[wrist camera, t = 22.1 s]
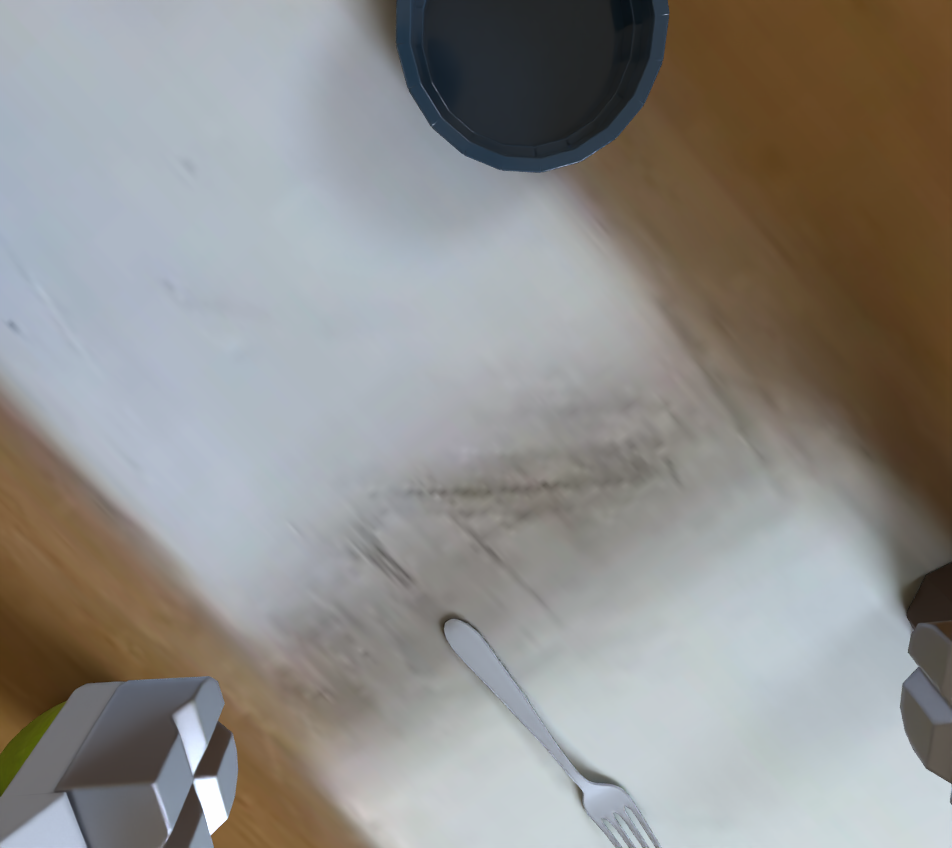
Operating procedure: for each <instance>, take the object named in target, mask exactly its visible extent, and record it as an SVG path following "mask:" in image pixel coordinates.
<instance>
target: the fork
mask: <svg viewBox="0 0 952 848" xmlns="http://www.w3.org/2000/svg"><path fill="white" fill-rule="evenodd" d="M444 632H445V635H446V639H447V640H448V642H449V644H450V645H451V647H452V649H453V650H454V651H455V652H456V653H457V655H458V656H459V657H460V658H461V659H462V660H463V661H464V662H465V663H466V664H467V665H468V666H469V668H470V669H471V670H472V671H473V672H474V673H475V674H476V675H477V676H478V677H479V678H480V679H481V680H482V681H483V682H484V683H485V684H486V685H487V686H488V687H489V688H490V689H491V690H492V691H493V693H494V694H495V695H496V696H497V697H498V698H499V699H500V700H501V701H502V702H503V703H504V704H505V705H506V706H507V708H508V709H509V710H510V711H511V712H512V713H513V714H514V715H515V716H516V717H517V718H518V719H519V720H520V721H521V722H522V723H523V724H524V725H525V726H526V727H527V728H528V729H529V731H530V732H531V733H532V734H533V735H534V736H535V737H536V738H537V739H538V740H539V741H540V743H541V744H542V745H543V746H544V747H545V748H546V749H547V750H548V751H549V753H550V754H551V755H552V756H553V757H554V759H555V760H556V761H557V762H558V763H559V765H560V766H561V767H562V768H563V769H564V770H565V772H566V773H567V774H568V775H569V776H570V778H571V779H572V780H573V781H574V782H575V783H576V784H577V785H578V786H579V787H580V788H581V789H582V791H583V798H582V803H583V806H584V809H585V810H586V812H587V814H588V815H589V816H590V817H591V819H592V820H593V821H594V822H595V823H596V824H597V825H598V827H599V828H600V829H601V830H602V831H603V832H604V833H605V834H606V836H607V837H608V838H609V840H610V841H611V842H612V844H613V845H614V846H615V847H616V848H622V846H621V845H620V844H619V842H618V841H617V840H616V838H615V837H614V835H613V834H612V833H611V831H610V830H609V829H608V828H607V826H606V825H605V824H604V823H603V821H602V818H604V819H606V820H608V821H609V822H610V823H611V824H612V825H613V827H614V828H615V829H616V830H617V831H618V833H619V834H620V836H621V837H622V838H623V840H624V841H625V842H626V844H627V845H628V847H629V848H636V847H635V846H634V844H633V843H632V841H631V840H630V838H629V837H628V836H627V834H626V833H625V831H624V830H623V828H622V827H621V825H620V824H619V823H618V821H617V820H616V818H615V817H614V812H615V813H617V814H619V815H620V816H621V817H622V819H623V820H624V821H625V822H626V824H627V825H628V827H629V828H630V830H631V831H632V832H633V834H634V835H635V837H636V838H637V840H638V841H639V843H640V844H641V846H642V847H643V848H649V847H648V845H647V844H646V842H645V840H644V839H643V837H642V836H641V834H640V833H639V831H638V830H637V828H636V826H635V825H634V823H633V822H632V820H631V819H630V817H629V816H628V814H627V813H626V811H625V806H626V807H628V808H629V809H631V810H632V812H633V813H634V815H635V816H636V817H637V819H638V820H639V822H640V824H641V825H642V827H643V828H644V830H645V832H646V833H647V835H648V836H649V838H650V840H651V841H652V843H653V844H654V846H655V847H656V848H661V846H660V844H659V842H658V841H657V839H656V837H655V836H654V834H653V832H652V831H651V829H650V827H649V826H648V824H647V822H646V821H645V819H644V817H643V816H642V814H641V812H640V811H639V809H638V808H637V806H636V804H635V803H634V801H633V800H632V798H631V797H630V796H629V794H628V793H627V792H626V791H625V790H624V789H623V788H620V787H618V786H616V785H613V784H607V783H594V782H591V781H589V780H587V779H586V778H584V777H583V776H582V775H581V774H580V773H579V772H578V771H577V770H576V768H575V767H574V766H573V765H572V763H571V762H570V761H569V760H568V758H567V757H566V755H565V754H564V753H563V751H562V750H561V749H560V747H559V746H558V745H557V743H556V742H555V740H554V739H553V737H552V736H551V734H550V733H549V731H548V730H547V728H546V727H545V725H544V724H543V722H542V721H541V719H540V718H539V716H538V715H537V713H536V712H535V710H534V709H533V707H532V706H531V704H530V703H529V701H528V700H527V699H526V697H525V696H524V694H523V693H522V692H521V690H520V689H519V687H518V686H517V685H516V683H515V682H514V680H513V679H512V678H511V676H510V675H509V673H508V672H507V671H506V669H505V668H504V666H503V665H502V663H501V662H500V661H499V659H498V658H497V656H496V655H495V654H494V652H493V651H492V649H491V648H490V647H489V645H488V644H487V643H486V641H485V640H484V639H483V637H482V636H481V635H480V634H479V633H478V632H477V631H476V630H475V629H474V628H472V627H471V626H470V625H469V624H467V623H465V622H463V621H460V620H458V619H450V620H448V621H447V622H446V623H445V626H444Z"/></svg>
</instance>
